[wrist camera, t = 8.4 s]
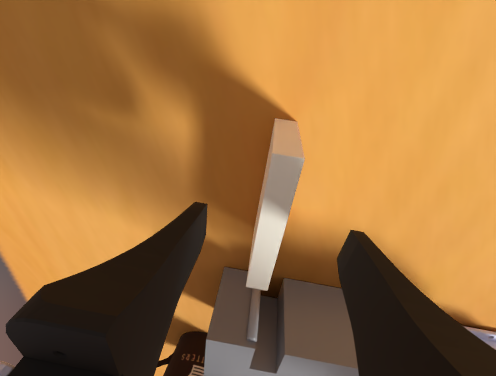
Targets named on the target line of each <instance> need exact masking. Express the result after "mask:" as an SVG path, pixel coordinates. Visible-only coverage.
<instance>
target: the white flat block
mask: <svg viewBox="0 0 496 376" xmlns="http://www.w3.org/2000/svg"><path fill="white" fill-rule="evenodd" d="M304 159H305V158H304V153H303V148H302V143H301V138H300V132H299V127H298V122H296V121H290V120H283V119H277V118H275V122H274V127H273V132H272V138H271V143H270V148H269V153H268V159H267V164H266V169H265V174H264V180H263V185H262V190H261V195H260V201H259V206H258V211H257V217H256V222H255V227H254V233H253V240H252V247H251V254H250V261H249V268H248V275H247V282H246V287H250V288H255V289H260V290H266V291H268V287H269V284H270V280H271V276H272V273H273V269H274V266H275V262H276V259H277V255H278V252H279V248H280V245H281V241H282V237H283V234H284V230H285V227H286V223H287V220H288V216H289V213H290V209H291V205H292V202H293V198H294V195H295V191H296V188H297V184H298V181H299V177H300V174H301V170H302V166H303V163H304Z"/></svg>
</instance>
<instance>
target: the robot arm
mask: <svg viewBox="0 0 496 376" xmlns="http://www.w3.org/2000/svg"><path fill="white" fill-rule="evenodd" d="M206 221H207V204H204V203H199V202H195V203H193V204H192V205H191V206H190V207H189V208H187V209H186V210H185V211H184V212H183V213H182V214H180V215H179V216H178V217H177V218H176V219H174V220H173V221H172V222H170V223H169V224H168V225H167V226H165V227H164V228H163V229H161V230H160V231H158V232H157V233H156V234H154V235H153V236H151V237H150V238H148V239H147V240H145V241H144V242H142V243H140V244H139V245H137V246H135V247H134V248H132V249H130V250H128V251H126V252H124V253H122V254H120V255H118V256H116V257H114V258H113V259H111V260H108V261H106V262H104V263H102V264H100V265H97V266H95V267H93V268H90V269H88V270H85V271H83V272H80V273H78V274H75V275H72V276H70V277H67V278H64V279H61V280H58V281H56V282H53V283H50V284H47V285H44V286H43V287H42V288H41V289H40V290H39V291H38V292H37V293H36V294H35V295H33V296H32V298H31V299H30V300H29V301H28V302H27V303H26V304H25V305H24V306H23V307H22V308H21V309H20V310H19V311H18V312H17V313H16V314H15V315H14V316H13V317H12V318H11V319H10V320H9V321H8V323H7V324H6V333H7V335H8V337H9V338H10V340H11V341H12V342H13V344H14V345H15V346H16V347H17V349H18V350H19V351H20V352H21V353H22V355H23V356H24V357H23V358H22V359H21V360H20V362H19V363H18V364H17V365H16V367H14V366H12V365H10V364H8V363H5V362H2V361H0V376H154V374H155V370H156V367H157V364H158V361H159V358H160V354H161V351H162V348H163V345H164V342H165V339H166V336H167V333H168V330H169V327H170V324H171V321H172V318H173V315H174V312H175V309H176V306H177V303H178V301H179V298H180V296H181V293H182V291H183V289H184V286H185V284H186V282H187V280H188V278H189V275H190V273H191V271H192V269H193V267H194V265H195V262H196V260H197V258H198V256H199V254H200V251H201V248H202V245H203V242H204V239H205V235H206ZM337 262H338V272H339V279H340V283H341V287H342V291H343V295H344V299H345V303H346V307H347V311H348V315H349V318H350V322H351V327H352V332H353V337H354V344H355V350H356V357H357V365H358V373H359V376H496V332H493V331H487V330H482V329H476V328H471V327H466V326H462V325H461V324H459V323H458V322H457V321H456V320H454V319H453V318H452V317H450V316H449V315H448V314H447V313H445V312H444V311H443V310H442V309H440V308H439V307H438V306H437V305H436V304H435V303H433V302H432V301H431V300H430V299H429V298H428V297H427V296H425V295H424V294H423V293H422V292H421V291H420V290H419V289H418V288H417V287H416V286H415V285H413V284H412V283H411V282H410V281H409V280H408V279H407V278H406V277H405V276H404V275H403V274H402V273H401V272H400V271H399V270H398V269H397V268H396V267H395V266H394V264H393V263H392V262H391V261H390V260H389V259H388V258H387V257H386V256H385V255H384V254H383V253H382V252H381V250H380V249H379V248H378V247H377V246H376V245H375V244H374V243H373V242H372V241H371V240H370V238H369V237H368V236H367V235H366V234H365V233H364V232H360V231H354V230H351V231H350V233H349V235H348V237H347V239H346V241H345V243H344V245H343V247H342V249H341V251H340V253H339V256H338V258H337Z"/></svg>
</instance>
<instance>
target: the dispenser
mask: <svg viewBox="0 0 496 376" xmlns="http://www.w3.org/2000/svg"><path fill="white" fill-rule="evenodd" d="M247 275H248V271H244V270H239V269H233V268H228V267H224V270H223V274H222V278H221V282H220V286H219V290H218V294H217V298H216V302H215V306H214V310H213V314H212V318H211V322H210V326H209V330H208V334H207V338H206V349H205V363H204V376H359V373H358V365H357V357H356V350H355V344H354V337H353V332H352V327H351V322H350V318H349V315H348V311H347V307H346V303H345V299H344V295H343V291H342V288H336V287H331V286H325V285H320V284H314V283H309V282H304V281H298V280H293V279H287V278H284V279H283V282H282V285H281V288H280V291H279V294H278V297H277V298H273V297H268V296H263V295H261V290H260V289H255V288H250V287H246V282H247Z"/></svg>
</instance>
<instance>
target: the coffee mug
mask: <svg viewBox="0 0 496 376" xmlns="http://www.w3.org/2000/svg"><path fill="white" fill-rule="evenodd" d="M206 338H207V333H203V332H188V333H185V334H183V335H182V336H181V338H180V340H179V342H178V344H177V346H176V349H175V351H174V353H173V354H172V355H170V356H169V357H168V358H167V359H164V360H161V361H158V364H157V367H159V366H162V365H165V364H168V366H167V368H166V371H165V373H164V375H163V376H204V363H205V349H206Z"/></svg>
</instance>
